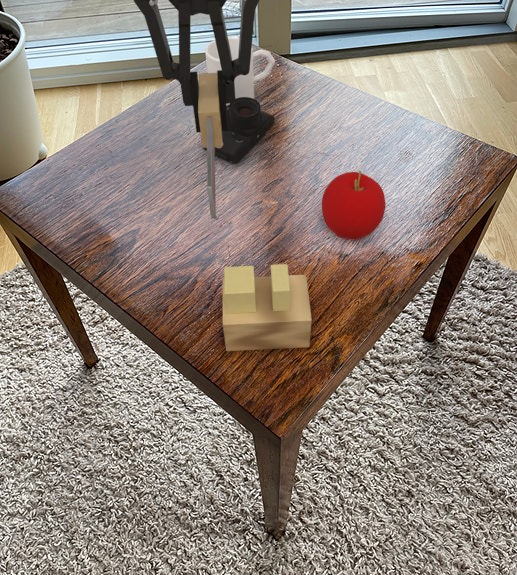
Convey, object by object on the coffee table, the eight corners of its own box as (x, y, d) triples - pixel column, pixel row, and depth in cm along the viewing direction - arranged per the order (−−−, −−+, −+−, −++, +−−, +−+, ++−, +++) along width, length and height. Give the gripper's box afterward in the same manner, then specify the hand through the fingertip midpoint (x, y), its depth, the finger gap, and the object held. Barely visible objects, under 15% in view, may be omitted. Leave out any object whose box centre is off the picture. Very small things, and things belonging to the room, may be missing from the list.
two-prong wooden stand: (226, 351, 72) (222, 324, 67) (225, 306, 76) (222, 278, 72) (309, 347, 72) (311, 320, 67) (304, 302, 76) (306, 274, 72)
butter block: (226, 314, 68) (224, 293, 65) (226, 287, 71) (224, 266, 68) (256, 312, 68) (255, 292, 65) (254, 286, 71) (253, 265, 68)
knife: (202, 108, 74) (198, 73, 70) (221, 107, 74) (218, 72, 70) (202, 219, 61) (197, 183, 57) (224, 218, 61) (221, 182, 57)
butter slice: (272, 311, 68) (272, 291, 65) (270, 285, 71) (270, 264, 68) (289, 310, 68) (290, 290, 65) (287, 284, 71) (287, 263, 68)
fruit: (393, 234, 83) (405, 182, 76) (342, 258, 81) (349, 207, 73) (356, 197, 89) (364, 144, 81) (307, 218, 86) (310, 166, 78)
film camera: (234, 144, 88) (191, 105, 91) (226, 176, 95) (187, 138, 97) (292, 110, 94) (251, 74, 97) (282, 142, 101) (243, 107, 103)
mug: (278, 107, 103) (278, 56, 96) (211, 113, 103) (206, 63, 95) (272, 82, 108) (272, 32, 101) (209, 88, 108) (203, 38, 100)
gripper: (270, -110, 55) (272, 103, 73) (108, -102, 55) (151, 110, 73) (277, -79, 50) (276, 140, 69) (100, -70, 50) (147, 147, 68)
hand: (212, 124), depth 71 cm, fingers closed on knife, 2 cm apart
